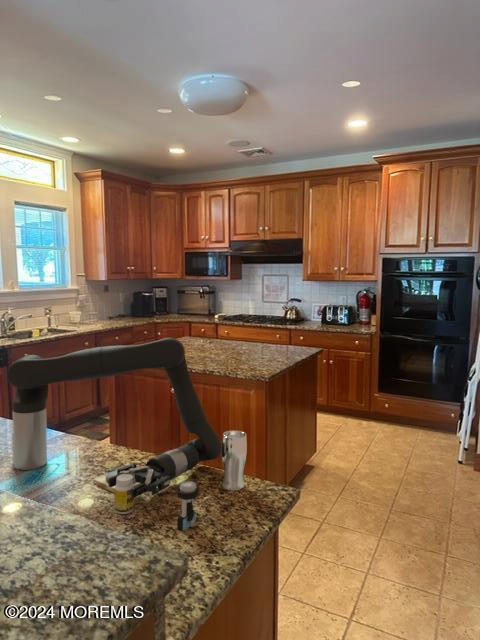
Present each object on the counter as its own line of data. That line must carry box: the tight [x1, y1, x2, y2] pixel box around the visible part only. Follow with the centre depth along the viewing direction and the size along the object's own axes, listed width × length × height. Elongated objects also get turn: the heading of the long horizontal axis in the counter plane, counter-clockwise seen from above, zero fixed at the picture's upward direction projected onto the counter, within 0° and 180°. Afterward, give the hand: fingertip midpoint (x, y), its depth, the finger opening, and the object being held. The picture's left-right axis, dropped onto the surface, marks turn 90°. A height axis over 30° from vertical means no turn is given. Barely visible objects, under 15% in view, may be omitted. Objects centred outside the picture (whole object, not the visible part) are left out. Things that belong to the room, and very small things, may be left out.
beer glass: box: [221, 429, 248, 492], centre depth 123 cm, size 7×7×15 cm
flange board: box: [92, 464, 141, 494], centre depth 125 cm, size 12×12×2 cm
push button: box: [176, 480, 201, 531], centre depth 104 cm, size 7×5×10 cm
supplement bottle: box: [114, 474, 135, 515], centre depth 109 cm, size 5×5×8 cm
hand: (120, 488), depth 108 cm, fingers open, 8 cm apart
